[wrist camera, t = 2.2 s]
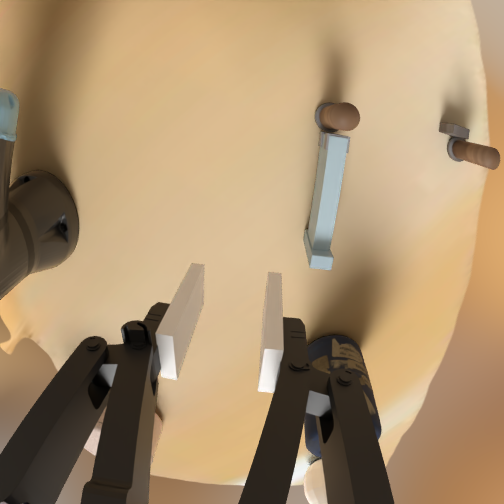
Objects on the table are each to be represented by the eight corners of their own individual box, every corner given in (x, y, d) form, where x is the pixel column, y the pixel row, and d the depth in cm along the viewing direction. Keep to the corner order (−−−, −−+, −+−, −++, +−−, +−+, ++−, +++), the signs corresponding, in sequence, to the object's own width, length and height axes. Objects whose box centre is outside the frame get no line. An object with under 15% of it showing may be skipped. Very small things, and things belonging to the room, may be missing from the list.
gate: (318, 131, 32) (330, 133, 25) (337, 134, 32) (354, 138, 25) (303, 240, 37) (309, 268, 30) (320, 241, 37) (330, 270, 30)
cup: (341, 473, 64) (345, 514, 51) (296, 471, 63) (296, 515, 51) (364, 451, 58) (372, 497, 46) (314, 449, 58) (317, 499, 45)
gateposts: (313, 129, 32) (324, 131, 25) (317, 93, 30) (330, 84, 23) (463, 164, 32) (499, 177, 24) (468, 132, 30) (505, 139, 22)
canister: (369, 336, 43) (401, 432, 27) (344, 377, 47) (360, 468, 31) (312, 324, 43) (326, 429, 26) (291, 368, 47) (293, 466, 30)
